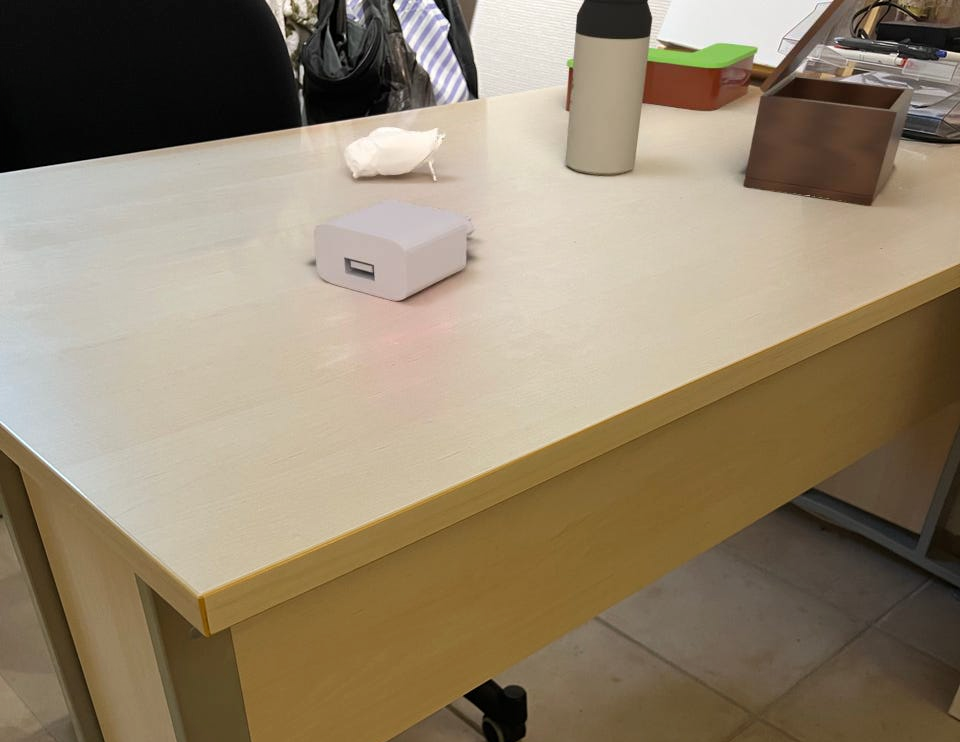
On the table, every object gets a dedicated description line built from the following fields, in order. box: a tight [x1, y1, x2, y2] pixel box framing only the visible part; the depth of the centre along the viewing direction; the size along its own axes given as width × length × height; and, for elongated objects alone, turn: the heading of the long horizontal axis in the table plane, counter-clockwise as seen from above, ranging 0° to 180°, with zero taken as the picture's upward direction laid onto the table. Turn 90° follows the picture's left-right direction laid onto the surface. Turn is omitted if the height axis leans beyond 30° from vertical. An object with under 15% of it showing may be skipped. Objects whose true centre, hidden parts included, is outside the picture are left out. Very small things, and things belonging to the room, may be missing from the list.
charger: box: [313, 198, 476, 301], centre depth 81 cm, size 5×9×15 cm
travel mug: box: [565, 0, 653, 176], centre depth 103 cm, size 8×8×18 cm
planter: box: [565, 42, 758, 112], centre depth 137 cm, size 30×18×6 cm, turn 150°
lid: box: [759, 0, 857, 94], centre depth 98 cm, size 15×14×6 cm
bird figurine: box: [343, 126, 446, 182], centre depth 102 cm, size 5×7×10 cm
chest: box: [743, 74, 915, 207], centre depth 104 cm, size 14×14×9 cm
